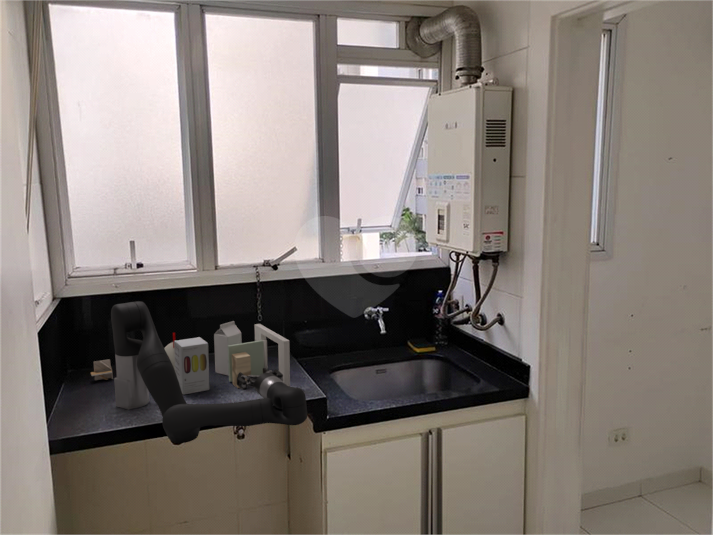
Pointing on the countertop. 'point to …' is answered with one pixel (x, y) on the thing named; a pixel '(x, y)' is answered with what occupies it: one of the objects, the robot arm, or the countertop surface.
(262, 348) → the door
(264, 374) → the robot arm
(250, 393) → the countertop surface
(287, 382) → the door frame
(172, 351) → the kitchen timer
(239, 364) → the block
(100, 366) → the architectural model
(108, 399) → the countertop surface
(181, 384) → the supplement box
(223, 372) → the milk carton
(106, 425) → the countertop surface
